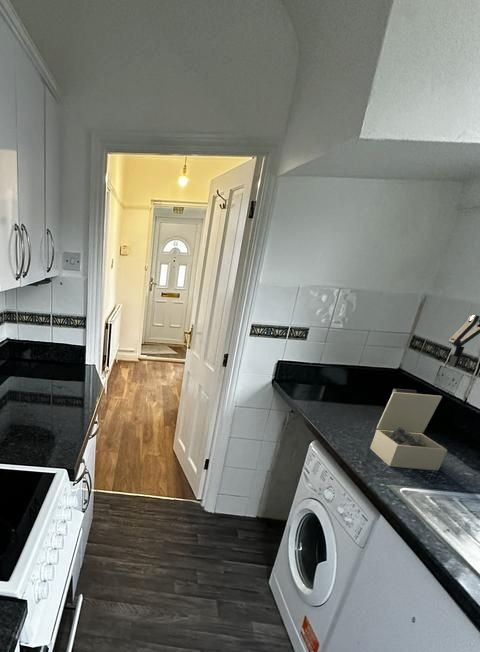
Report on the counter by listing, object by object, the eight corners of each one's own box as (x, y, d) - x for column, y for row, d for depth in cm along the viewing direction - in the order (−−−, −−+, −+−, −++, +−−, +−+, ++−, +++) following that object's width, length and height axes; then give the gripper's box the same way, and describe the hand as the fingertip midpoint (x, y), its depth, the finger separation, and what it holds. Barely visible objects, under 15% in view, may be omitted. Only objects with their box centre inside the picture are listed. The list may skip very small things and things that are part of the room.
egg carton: (420, 451, 145) (429, 447, 141) (406, 462, 143) (414, 459, 139) (396, 427, 148) (404, 423, 144) (382, 439, 146) (389, 435, 143)
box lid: (442, 396, 140) (428, 386, 146) (393, 392, 141) (382, 383, 148) (423, 432, 147) (411, 421, 154) (377, 428, 148) (367, 418, 155)
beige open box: (438, 470, 138) (447, 449, 135) (389, 466, 140) (397, 445, 136) (414, 452, 151) (422, 433, 148) (369, 448, 152) (376, 429, 149)
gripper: (535, 301, 130) (505, 367, 139) (451, 296, 132) (427, 361, 141) (557, 304, 123) (524, 373, 132) (468, 299, 125) (441, 367, 134)
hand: (474, 367), depth 136 cm, fingers open, 13 cm apart
